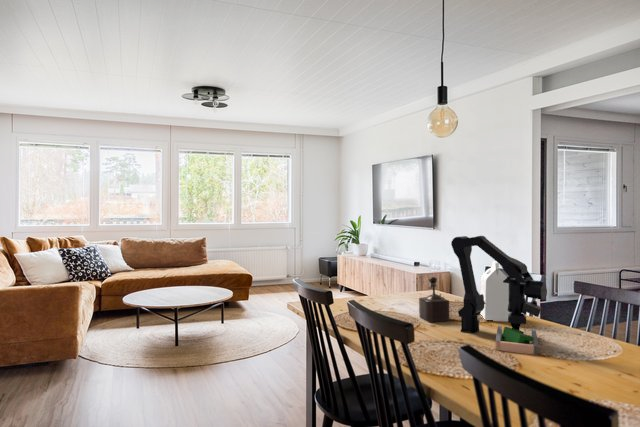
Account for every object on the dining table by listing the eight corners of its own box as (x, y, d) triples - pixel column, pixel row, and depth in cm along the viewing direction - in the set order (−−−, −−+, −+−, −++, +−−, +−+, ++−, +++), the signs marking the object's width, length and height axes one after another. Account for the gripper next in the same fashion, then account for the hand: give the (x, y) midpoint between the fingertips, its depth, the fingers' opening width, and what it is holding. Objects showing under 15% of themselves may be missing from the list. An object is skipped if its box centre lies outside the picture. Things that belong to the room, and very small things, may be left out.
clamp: (526, 360, 166) (537, 341, 162) (511, 357, 165) (522, 337, 162) (513, 339, 177) (523, 320, 173) (499, 336, 176) (509, 317, 173)
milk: (511, 321, 204) (512, 263, 204) (484, 320, 206) (485, 263, 206) (505, 315, 216) (505, 260, 216) (479, 314, 218) (480, 260, 217)
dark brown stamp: (451, 321, 205) (451, 281, 205) (429, 322, 203) (429, 282, 202) (434, 313, 221) (435, 276, 220) (413, 314, 218) (413, 277, 218)
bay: (495, 349, 165) (495, 341, 165) (497, 332, 186) (497, 325, 186) (538, 354, 159) (538, 346, 159) (535, 336, 181) (535, 329, 181)
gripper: (541, 303, 164) (541, 345, 165) (538, 290, 181) (537, 329, 182) (508, 300, 168) (508, 342, 169) (507, 289, 185) (507, 326, 186)
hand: (516, 334), depth 176 cm, fingers closed
